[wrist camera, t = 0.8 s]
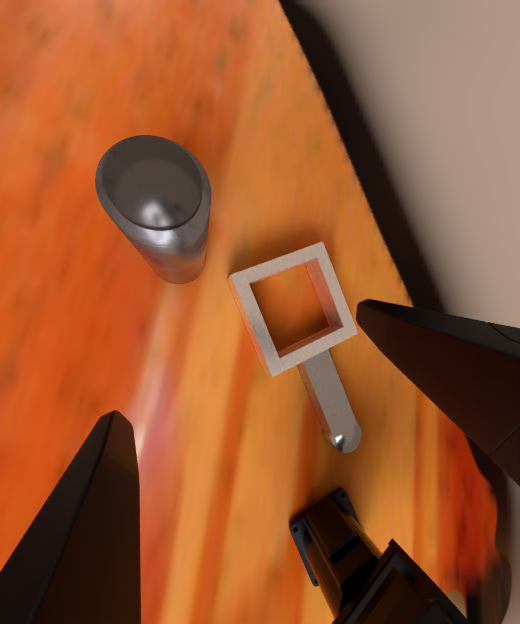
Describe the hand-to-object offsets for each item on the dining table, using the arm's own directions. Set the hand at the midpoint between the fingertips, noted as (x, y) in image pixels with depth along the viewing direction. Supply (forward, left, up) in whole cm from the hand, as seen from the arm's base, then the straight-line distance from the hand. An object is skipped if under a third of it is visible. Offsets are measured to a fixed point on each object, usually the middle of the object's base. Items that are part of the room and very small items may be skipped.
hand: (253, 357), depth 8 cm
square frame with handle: (-5, -7, -13) cm, 16 cm away
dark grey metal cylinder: (+8, +1, -13) cm, 16 cm away
